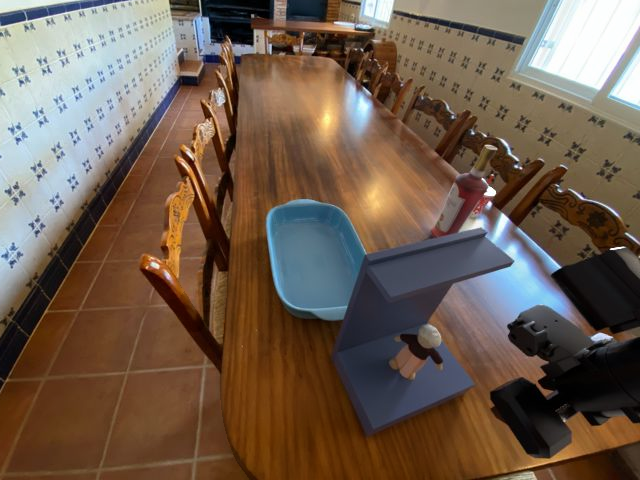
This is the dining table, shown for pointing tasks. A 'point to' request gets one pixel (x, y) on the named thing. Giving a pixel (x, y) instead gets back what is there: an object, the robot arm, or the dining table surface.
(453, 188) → the liquor
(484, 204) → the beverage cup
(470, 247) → the stand
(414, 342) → the grandmother figurine
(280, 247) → the casserole dish
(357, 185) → the dining table surface
